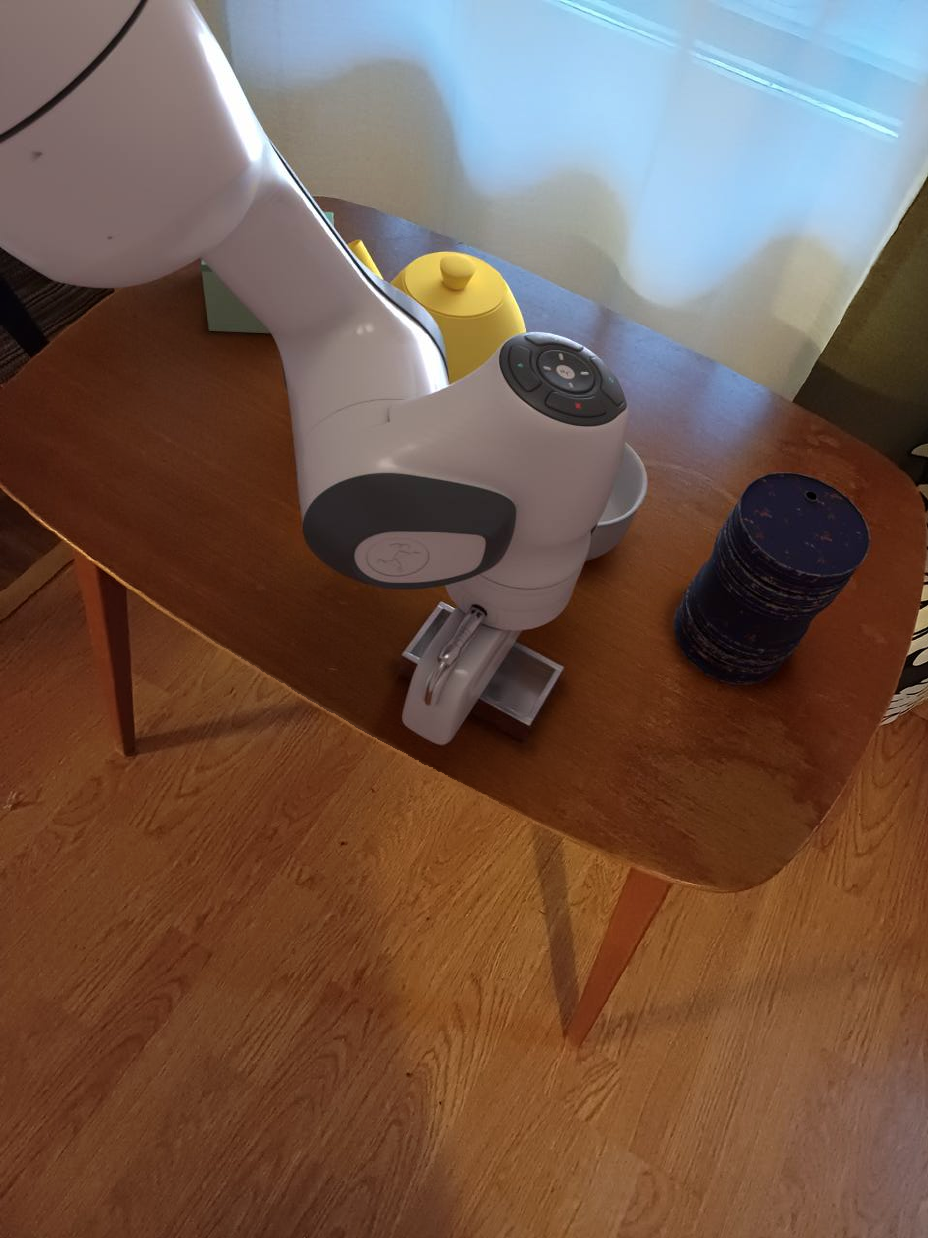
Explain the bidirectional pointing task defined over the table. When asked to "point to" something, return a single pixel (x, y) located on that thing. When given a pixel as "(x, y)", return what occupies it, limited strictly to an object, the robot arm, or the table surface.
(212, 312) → the lunchbox
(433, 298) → the teapot
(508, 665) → the open storage tray
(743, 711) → the table surface
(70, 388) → the table surface
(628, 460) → the teacup
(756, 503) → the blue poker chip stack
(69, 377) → the table surface
